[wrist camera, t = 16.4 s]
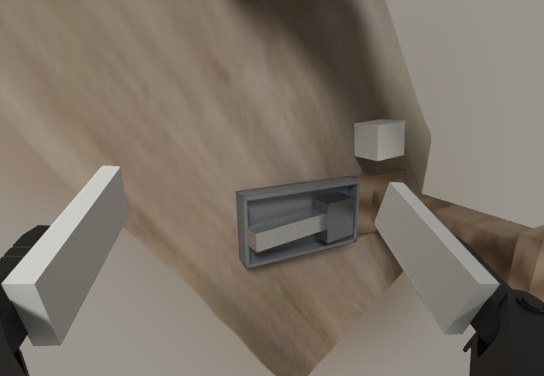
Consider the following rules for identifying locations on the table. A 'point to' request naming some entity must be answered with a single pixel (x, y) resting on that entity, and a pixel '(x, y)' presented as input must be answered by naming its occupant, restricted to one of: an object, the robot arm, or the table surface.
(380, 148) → the white cube
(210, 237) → the table surface
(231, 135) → the table surface
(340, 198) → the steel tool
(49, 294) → the robot arm
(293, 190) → the tray
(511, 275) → the shelf post
